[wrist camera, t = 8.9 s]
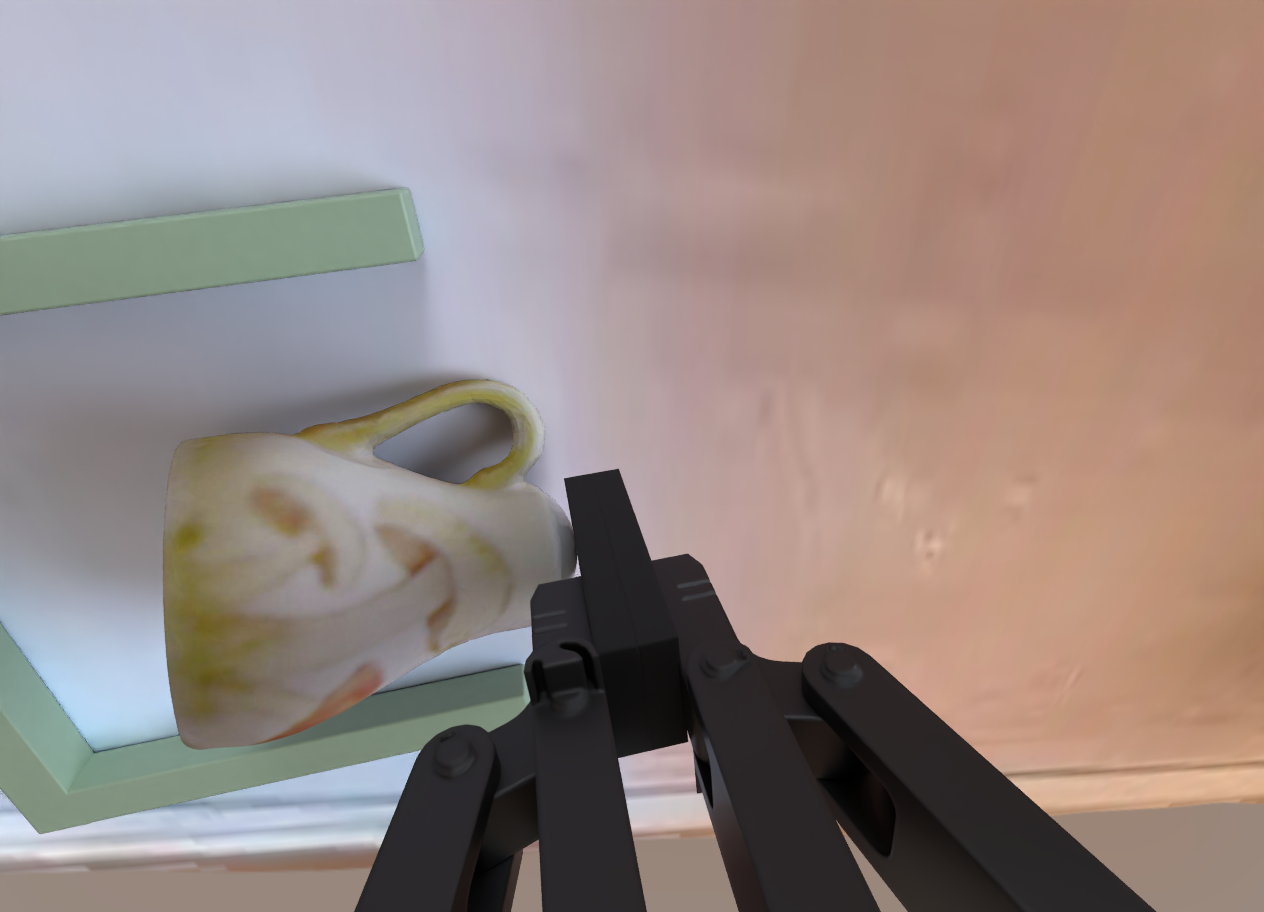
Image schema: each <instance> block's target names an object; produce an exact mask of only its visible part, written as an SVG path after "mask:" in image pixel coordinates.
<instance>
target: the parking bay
mask: <svg viewBox="0 0 1264 912" xmlns="http://www.w3.org/2000/svg"><path fill="white" fill-rule="evenodd" d="M423 252H424V245H423V241H422V237H421V233H420V229H419V225H418V220H417V216H416V212H415V208H414V204H413V200H412V195H411V191H410V189H409V188H399V189H390V190H382V191H373V192H365V193H356V194H348V195H339V196H331V197H322V198H314V199H305V200H296V201H288V202H279V203H271V204H262V205H254V206H245V207H237V208H228V209H220V210H211V211H203V212H194V213H186V214H177V215H169V216H160V217H152V218H143V219H135V220H126V221H118V222H109V223H101V224H92V225H84V226H75V227H67V228H58V229H50V230H41V231H33V232H24V233H15V234H7V235H0V315H7V314H15V313H23V312H30V311H38V310H45V309H53V308H61V307H68V306H76V305H84V304H91V303H99V302H107V301H114V300H122V299H129V298H137V297H145V296H152V295H160V294H168V293H175V292H183V291H191V290H198V289H206V288H213V287H221V286H229V285H236V284H244V283H252V282H259V281H267V280H275V279H282V278H290V277H298V276H305V275H313V274H320V273H328V272H336V271H343V270H351V269H359V268H366V267H374V266H382V265H389V264H397V263H404V262H412V261H416V260H418V258H419V257H420V256H421V254H422V253H423ZM523 671H524V665H522V664H521V665H516V666H511V667H507V668H502V669H497V670H492V671H487V672H482V673H478V674H473V675H468V676H463V677H458V678H454V679H449V680H444V681H439V682H434V683H429V684H425V685H420V686H415V687H410V688H405V689H401V690H396V691H391V692H386V693H381V694H377V695H372V696H369V697H367V698H365V699H364V700H362V701H360V702H358V703H357V704H355V705H353V706H352V707H350V708H349V709H347V710H345V711H344V712H342V713H340V714H338V715H335V716H333V717H331V718H329V719H327V720H325V721H323V722H321V723H319V724H317V725H315V726H313V727H310V728H308V729H306V730H304V731H302V732H299V733H296V734H293V735H290V736H287V737H284V738H281V739H277V740H274V741H270V742H266V743H261V744H257V745H251V746H242V747H223V748H212V749H205V750H196V749H192V748H189V747H187V746H186V745H184V744H183V742H182V741H181V738H180V735H179V736H174V737H170V738H165V739H160V740H155V741H150V742H145V743H141V744H136V745H131V746H126V747H121V748H117V749H112V750H107V751H102V752H97V753H94V752H93V750H92V749H91V747H90V746H89V745H88V743H87V742H86V741H85V739H84V738H83V736H82V735H81V734H80V732H79V731H78V729H77V728H76V727H75V725H74V724H73V722H72V721H71V720H70V718H69V717H68V716H67V714H66V713H65V711H64V710H63V709H62V707H61V706H60V704H59V703H58V702H57V700H56V699H55V698H54V696H53V695H52V693H51V692H50V691H49V689H48V688H47V686H46V685H45V684H44V682H43V681H42V680H41V678H40V677H39V675H38V674H37V673H36V671H35V670H34V668H33V667H32V666H31V664H30V663H29V662H28V660H27V659H26V657H25V656H24V655H23V653H22V652H21V650H20V649H19V648H18V646H17V645H16V644H15V642H14V641H13V639H12V638H11V637H10V635H9V634H8V632H7V631H6V630H5V628H4V627H3V626H2V624H1V623H0V789H1V790H2V791H3V792H4V793H5V795H6V796H7V797H8V798H9V799H10V800H11V802H12V803H13V804H14V805H15V806H16V807H17V809H18V810H19V811H20V812H21V813H22V814H23V816H24V817H25V818H26V819H27V820H28V821H29V823H30V824H31V825H32V826H33V827H34V828H35V830H36V831H37V832H38V833H39V834H44V833H48V832H53V831H57V830H62V829H66V828H71V827H75V826H80V825H85V824H89V823H91V822H95V821H100V820H104V819H109V818H113V817H118V816H123V815H127V814H132V813H136V812H141V811H145V810H150V809H154V808H159V807H164V806H168V805H173V804H177V803H182V802H186V801H191V800H196V799H200V798H205V797H209V796H214V795H218V794H223V793H227V792H232V791H237V790H241V789H246V788H250V787H255V786H259V785H264V784H268V783H273V782H278V781H282V780H287V779H291V778H296V777H300V776H305V775H309V774H314V773H319V772H323V771H328V770H332V769H337V768H341V767H346V766H350V765H355V764H360V763H364V762H369V761H373V760H378V759H382V758H387V757H391V756H396V755H401V754H405V753H410V752H414V751H419V750H422V749H423V747H424V745H425V744H426V743H428V742H429V741H430V740H431V739H432V738H433V737H434V736H435V735H437V734H438V733H440V732H442V731H444V730H446V729H448V728H450V727H454V726H459V725H464V724H469V725H475V726H480V727H482V728H483V729H484V730H486V731H487V732H490V731H492V730H494V729H496V728H498V727H500V726H502V725H504V724H506V723H507V722H509V721H510V720H512V719H513V718H515V717H516V716H517V715H518V714H520V713H521V712H522V711H523V710H524V709H525V707H526V706H527V705H528V703H529V702H530V696H529V692H528V688H527V684H526V680H525V676H524V672H523Z"/></svg>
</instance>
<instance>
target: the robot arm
mask: <svg viewBox="0 0 1264 912" xmlns="http://www.w3.org/2000/svg"><path fill="white" fill-rule="evenodd" d="M564 481H565V487H566V492H567V498H568V504H569V510H570V515H571V521H572V527H573V532H574V538H575V544H576V549H577V555H578V561H579V566H580V572H581V576H579V577H574V578H569V579H564V580H559V581H554V582H549V583H543V584H538V586H537V588H536V590H535V592H534V594H533V596H532V598H531V600H530V609H531V626H532V644H533V652H532V653H531V654H530V656H529V657H528V658H527V660H526V662H525V667H524V671H523V672H524V676H525V680H526V684H527V688H528V692H529V696H530V702H529V703H528V705H527V706H526V707H525V709H524V710H523V711H522V712H521V713H520V714H518V715H517V716H516V717H515V718H513V719H512V720H510V721H509V722H507V723H506V724H504V725H502V726H500V727H498V728H496V729H494V730H492V731H490V732H487V731H486V730H484V729H483V728H482V727H480V726H475V725H469V724H464V725H459V726H454V727H450V728H448V729H446V730H444V731H442V732H440V733H438V734H437V735H435V736H434V737H433V738H432V739H431V740H430V741H429V742H428V743H426V744H425V745H424V747H423V749H422V750H421V752H420V753H419V755H418V757H417V758H416V761H415V763H414V766H413V768H412V771H411V773H410V775H409V778H408V780H407V783H406V785H405V788H404V790H403V793H402V795H401V798H400V800H399V803H398V805H397V808H396V810H395V812H394V815H393V817H392V820H391V822H390V825H389V827H388V830H387V832H386V835H385V837H384V840H383V842H382V844H381V847H380V849H379V852H378V854H377V857H376V859H375V862H374V864H373V867H372V869H371V872H370V874H369V877H368V879H367V882H366V884H365V886H364V889H363V891H362V894H361V896H360V899H359V901H358V904H357V906H356V909H355V911H354V912H511V908H512V903H513V898H514V893H515V889H516V884H517V879H518V874H519V869H520V864H521V860H522V855H523V848H525V847H527V846H528V845H530V844H532V843H533V842H535V841H537V840H538V839H539V852H540V871H541V891H542V908H543V912H647V910H646V905H645V900H644V895H643V889H642V884H641V879H640V874H639V868H638V863H637V857H636V852H635V847H634V841H633V836H632V831H631V825H630V820H629V815H628V809H627V804H626V799H625V794H624V788H623V783H622V778H621V772H620V767H619V762H618V758H621V757H625V756H629V755H634V754H638V753H642V752H647V751H651V750H655V749H659V748H664V747H668V746H672V745H677V744H681V743H685V742H688V735H687V730H688V734H689V737H690V740H691V743H692V746H693V753H694V764H695V776H696V787H697V793H701V792H702V793H703V796H704V799H705V802H706V806H707V809H708V812H709V815H710V819H711V822H712V825H713V829H714V832H715V835H716V838H717V841H718V845H719V848H720V851H721V855H722V858H723V861H724V864H725V868H726V871H727V874H728V878H729V881H730V884H731V887H732V891H733V894H734V897H735V900H736V904H737V907H738V910H739V912H881V911H880V909H879V907H878V905H877V903H876V901H875V899H874V897H873V895H872V893H871V891H870V889H869V887H868V885H867V883H866V881H865V879H864V877H863V875H862V873H861V870H860V868H859V866H858V864H857V862H856V860H855V858H854V856H853V854H852V852H851V850H850V848H849V846H848V844H847V842H846V840H845V838H844V836H843V834H842V832H841V830H840V828H839V826H838V824H837V822H838V823H839V824H840V826H841V827H842V828H843V829H844V831H845V832H846V833H847V835H848V836H849V837H850V838H851V840H852V841H853V842H854V843H855V845H856V846H857V847H858V848H859V850H860V851H861V852H862V854H863V855H864V856H865V858H866V859H867V860H868V861H869V863H870V864H871V865H872V866H873V868H874V869H875V870H876V872H877V873H878V874H879V875H880V877H881V878H882V879H883V880H884V882H885V883H886V884H887V886H888V887H889V888H890V889H891V891H892V892H893V893H894V894H895V896H896V897H897V898H898V900H899V901H900V902H901V903H902V905H903V906H904V907H905V908H906V910H907V911H908V912H1156V911H1155V910H1154V909H1153V908H1152V907H1151V906H1149V905H1148V904H1147V903H1146V902H1145V901H1144V900H1143V899H1142V898H1141V897H1139V896H1138V895H1137V894H1136V893H1135V892H1134V891H1133V890H1131V889H1130V888H1129V887H1128V886H1127V885H1126V884H1125V883H1123V881H1121V880H1120V879H1119V878H1118V877H1117V876H1116V875H1115V874H1114V873H1113V872H1111V871H1110V870H1109V869H1108V868H1107V867H1106V866H1105V865H1104V864H1102V863H1101V862H1100V861H1099V860H1098V859H1097V858H1096V857H1095V856H1094V855H1092V854H1091V853H1090V852H1089V851H1088V850H1087V849H1085V848H1084V847H1083V846H1082V845H1081V844H1080V843H1079V842H1078V841H1077V840H1076V839H1075V838H1073V837H1072V836H1071V835H1070V834H1069V833H1068V832H1067V831H1065V830H1064V829H1063V828H1062V827H1061V826H1060V825H1059V824H1058V823H1056V821H1054V820H1053V819H1052V818H1051V817H1050V816H1049V815H1048V814H1047V813H1045V812H1044V811H1043V810H1042V809H1041V808H1040V807H1039V806H1038V805H1037V804H1035V803H1034V802H1033V801H1032V800H1031V799H1030V798H1029V797H1028V796H1026V795H1025V794H1024V793H1023V792H1022V791H1021V790H1020V789H1019V788H1018V787H1016V786H1015V785H1014V784H1013V783H1012V782H1011V781H1010V780H1009V779H1007V778H1006V777H1005V776H1004V775H1003V774H1002V773H1001V772H1000V771H998V770H997V769H996V768H995V767H994V766H993V765H992V764H991V763H990V762H988V761H987V760H986V759H985V758H984V757H983V756H982V755H981V754H979V753H978V752H977V751H976V750H975V749H974V748H973V747H972V746H971V745H969V744H968V743H967V742H966V741H965V740H964V739H963V738H962V737H960V736H959V735H958V734H957V733H956V732H955V731H954V730H953V729H952V728H950V727H949V726H948V725H947V724H946V723H945V722H944V721H943V720H941V719H940V718H939V717H938V716H937V715H936V714H935V713H934V712H933V711H931V710H930V709H929V708H928V707H927V706H926V705H925V704H924V703H922V702H921V701H920V700H919V699H918V698H917V697H916V696H915V695H914V694H912V693H911V692H910V691H909V690H908V689H907V688H906V687H905V686H903V685H902V684H901V683H900V682H899V681H898V680H897V679H896V678H895V677H893V676H892V675H891V674H890V673H889V672H888V671H887V670H886V669H884V668H883V667H882V666H881V665H880V664H879V663H878V662H877V661H875V660H874V659H873V658H872V657H871V656H870V655H868V654H867V653H865V652H864V651H862V650H861V649H859V648H858V647H854V646H851V645H848V644H845V643H830V642H829V643H825V644H821V645H817V646H815V647H814V648H812V649H811V650H810V651H808V652H807V653H806V655H805V657H804V659H803V661H802V662H782V661H773V660H768V659H765V658H761V657H758V656H756V655H755V654H753V653H752V652H751V650H750V649H749V648H748V647H747V646H745V645H743V644H741V643H740V641H739V640H738V639H737V637H736V634H735V632H734V630H733V628H732V626H731V624H730V622H729V620H728V618H727V615H726V613H725V611H724V609H723V607H722V605H721V603H720V601H719V599H718V597H717V595H716V593H715V590H714V588H713V586H712V584H711V583H710V580H709V578H708V575H707V573H706V571H705V569H704V567H703V565H702V564H701V563H699V562H698V561H697V560H695V559H694V558H693V557H691V556H690V555H689V554H683V555H678V556H673V557H668V558H663V559H658V560H653V561H651V558H650V556H649V553H648V550H647V547H646V544H645V542H644V539H643V536H642V533H641V530H640V527H639V525H638V522H637V519H636V516H635V513H634V511H633V508H632V505H631V502H630V499H629V497H628V494H627V491H626V488H625V485H624V483H623V480H622V477H621V474H620V471H619V469H615V470H609V471H603V472H598V473H592V474H587V475H581V476H575V477H570V478H564ZM835 819H836V820H835ZM836 821H837V822H836Z"/></svg>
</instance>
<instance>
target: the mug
mask: <svg viewBox="0 0 1264 912" xmlns="http://www.w3.org/2000/svg"><path fill="white" fill-rule="evenodd" d="M473 403H484V404H487V405H490V406H493V407H497V408H499V409H501V410H502V411H503V412H504V413H505V414H506V415H507V416H508V417H509V419H510V421H511V425H512V428H513V445H512V448H511V451H510V453H509V455H508V456H507V457H506V458H505V459H504V460H503V461H502V462H501V463H499V464H497V465H494V466H491V467H487V468H484V469H482V470H480V471H478V472H477V473H476V474H475V475H474V476H472V477H471V478H470V479H469V480H467V481H466V482H464V483H462V484H453V483H448V482H445V481H441V480H437V479H434V478H430V477H427V476H424V475H421V474H418V473H415V472H413V471H410V470H407V469H404V468H402V467H399V466H396V465H394V464H391V463H389V462H386V461H383V460H381V459H378V458H377V457H375V456H374V455H373V449H374V448H375V447H376V446H377V445H379V444H380V443H382V442H384V441H386V440H387V439H389V438H391V437H393V436H395V435H397V434H399V433H400V432H402V431H404V430H406V429H408V428H410V427H411V426H413V425H415V424H417V423H419V422H422V421H424V420H426V419H428V418H430V417H432V416H435V415H437V414H439V413H441V412H445V411H448V410H451V409H453V408H456V407H459V406H463V405H466V404H473ZM544 440H545V426H544V423H543V421H542V419H541V416H540V414H539V412H538V410H537V408H536V407H535V406H534V405H533V403H532V402H531V401H530V400H529V399H528V397H527V396H526V395H525V394H524V393H522V392H520V391H519V390H518V389H516V388H515V387H513V386H510V385H507V384H503V383H499V382H495V381H492V380H488V379H487V380H464V381H458V382H453V383H450V384H446V385H442V386H440V387H438V388H436V389H433V390H431V391H429V392H426V393H424V394H421V395H419V396H416V397H414V398H412V399H410V400H408V401H406V402H403V403H400V404H398V405H395V406H393V407H390V408H387V409H384V410H382V411H379V412H376V413H373V414H370V415H367V416H363V417H360V418H356V419H349V420H346V421H342V422H338V423H328V424H318V425H314V426H311V427H308V428H306V429H304V430H303V431H301V432H299V433H298V434H295V435H287V434H281V433H263V432H254V433H236V434H225V435H219V436H212V437H205V438H197V439H190V440H187V441H183V442H181V443H180V445H179V446H178V447H177V449H176V451H175V454H174V457H173V461H172V465H171V468H170V473H169V479H168V486H167V495H166V507H165V523H164V544H163V604H164V628H165V644H166V657H167V668H168V676H169V684H170V691H171V697H172V703H173V708H174V714H175V719H176V723H177V727H178V731H179V735H180V738H181V741H182V742H183V744H184V745H186V746H187V747H189V748H192V749H196V750H205V749H212V748H223V747H242V746H251V745H257V744H261V743H266V742H270V741H274V740H277V739H281V738H284V737H287V736H290V735H293V734H296V733H299V732H302V731H304V730H306V729H308V728H310V727H313V726H315V725H317V724H319V723H321V722H323V721H325V720H327V719H329V718H331V717H333V716H335V715H338V714H340V713H342V712H344V711H345V710H347V709H349V708H350V707H352V706H353V705H355V704H357V703H358V702H360V701H362V700H364V699H365V698H367V697H369V696H370V695H372V694H374V693H375V692H377V691H379V690H380V689H382V688H384V687H385V686H387V685H389V684H390V683H392V682H394V681H395V680H397V679H399V678H400V677H402V676H403V675H405V674H407V673H408V672H410V671H411V670H413V669H414V668H416V667H418V666H419V665H421V664H423V663H424V662H426V661H428V660H430V659H432V658H434V657H436V656H438V655H440V654H441V653H443V652H444V651H446V650H448V649H450V648H452V647H454V646H457V645H459V644H462V643H465V642H467V641H469V640H472V639H476V638H480V637H483V636H486V635H490V634H494V633H498V632H503V631H509V630H515V629H520V628H524V627H529V626H531V609H530V600H531V598H532V596H533V594H534V592H535V590H536V588H537V586H538V584H543V583H549V582H554V581H559V580H564V579H569V578H574V577H575V570H576V563H577V550H576V544H575V538H574V532H573V529H572V526H571V523H570V521H569V519H568V518H567V516H566V514H565V512H564V511H563V509H562V508H561V507H560V506H559V505H558V504H557V502H556V501H555V500H554V499H552V498H551V497H550V496H548V495H547V494H546V493H544V492H543V491H542V490H541V489H540V488H538V487H537V486H535V485H533V484H529V483H527V482H526V481H525V480H524V477H525V475H526V474H527V472H528V471H529V469H530V468H531V467H532V466H533V465H534V464H535V462H536V461H537V460H538V458H539V457H540V456H541V454H542V450H543V446H544Z"/></svg>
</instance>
